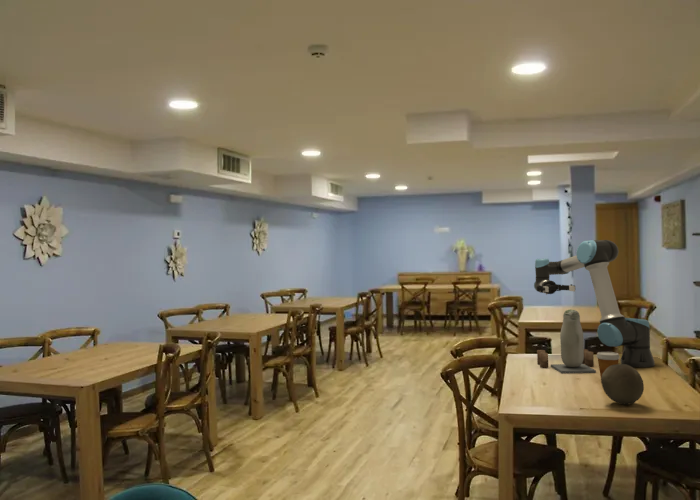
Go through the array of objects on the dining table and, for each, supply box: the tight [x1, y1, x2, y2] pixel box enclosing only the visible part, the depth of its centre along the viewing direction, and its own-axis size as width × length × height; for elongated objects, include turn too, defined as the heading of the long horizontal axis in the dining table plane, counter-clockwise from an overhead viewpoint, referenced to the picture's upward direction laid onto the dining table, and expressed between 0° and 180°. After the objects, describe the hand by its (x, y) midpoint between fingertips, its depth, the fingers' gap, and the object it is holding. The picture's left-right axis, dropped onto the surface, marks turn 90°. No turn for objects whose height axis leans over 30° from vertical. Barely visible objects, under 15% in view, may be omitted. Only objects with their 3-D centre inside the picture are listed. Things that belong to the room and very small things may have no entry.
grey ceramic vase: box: [559, 309, 585, 368], centre depth 278 cm, size 10×10×28 cm
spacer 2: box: [539, 352, 550, 369], centre depth 285 cm, size 4×4×7 cm
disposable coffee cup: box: [596, 351, 621, 378], centre depth 253 cm, size 10×10×12 cm
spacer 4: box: [584, 350, 595, 368], centre depth 286 cm, size 4×4×7 cm
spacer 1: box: [536, 349, 546, 366], centre depth 293 cm, size 4×4×7 cm
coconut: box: [600, 363, 645, 406], centre depth 214 cm, size 14×14×15 cm
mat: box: [550, 363, 597, 375], centre depth 278 cm, size 16×16×1 cm
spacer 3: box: [582, 348, 589, 365], centre depth 293 cm, size 4×4×7 cm
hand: (561, 289), depth 297 cm, fingers open, 13 cm apart
